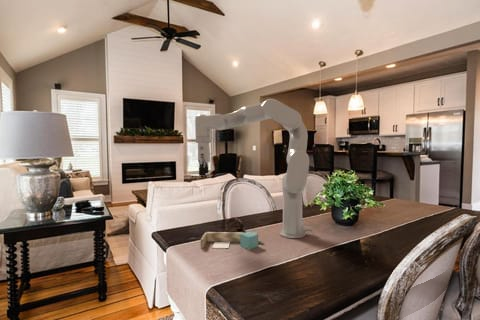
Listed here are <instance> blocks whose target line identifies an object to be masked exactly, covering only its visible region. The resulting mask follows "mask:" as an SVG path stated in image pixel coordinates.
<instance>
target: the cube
mask: <svg viewBox="0 0 480 320" xmlns="http://www.w3.org/2000/svg"><path fill="white" fill-rule="evenodd" d="M255 233H256V232H252V231H245V232H244V233H243V234H240V242H239V243H240V247H241V248H244V249H246V250H248V249H249V250H252V249H255V248H257V247H259V233H258V234H255Z"/></svg>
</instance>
